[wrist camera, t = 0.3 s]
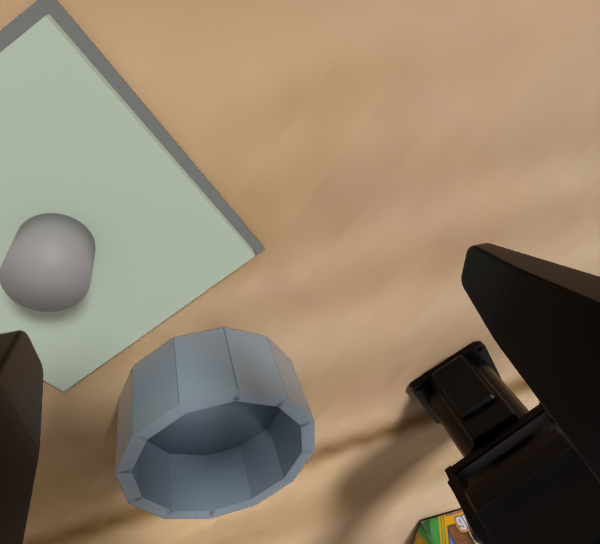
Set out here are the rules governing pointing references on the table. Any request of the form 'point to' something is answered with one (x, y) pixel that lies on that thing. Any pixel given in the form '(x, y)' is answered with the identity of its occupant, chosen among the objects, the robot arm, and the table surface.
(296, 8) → the table surface
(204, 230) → the lid
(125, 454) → the bowl
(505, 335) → the robot arm
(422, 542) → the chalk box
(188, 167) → the mat
